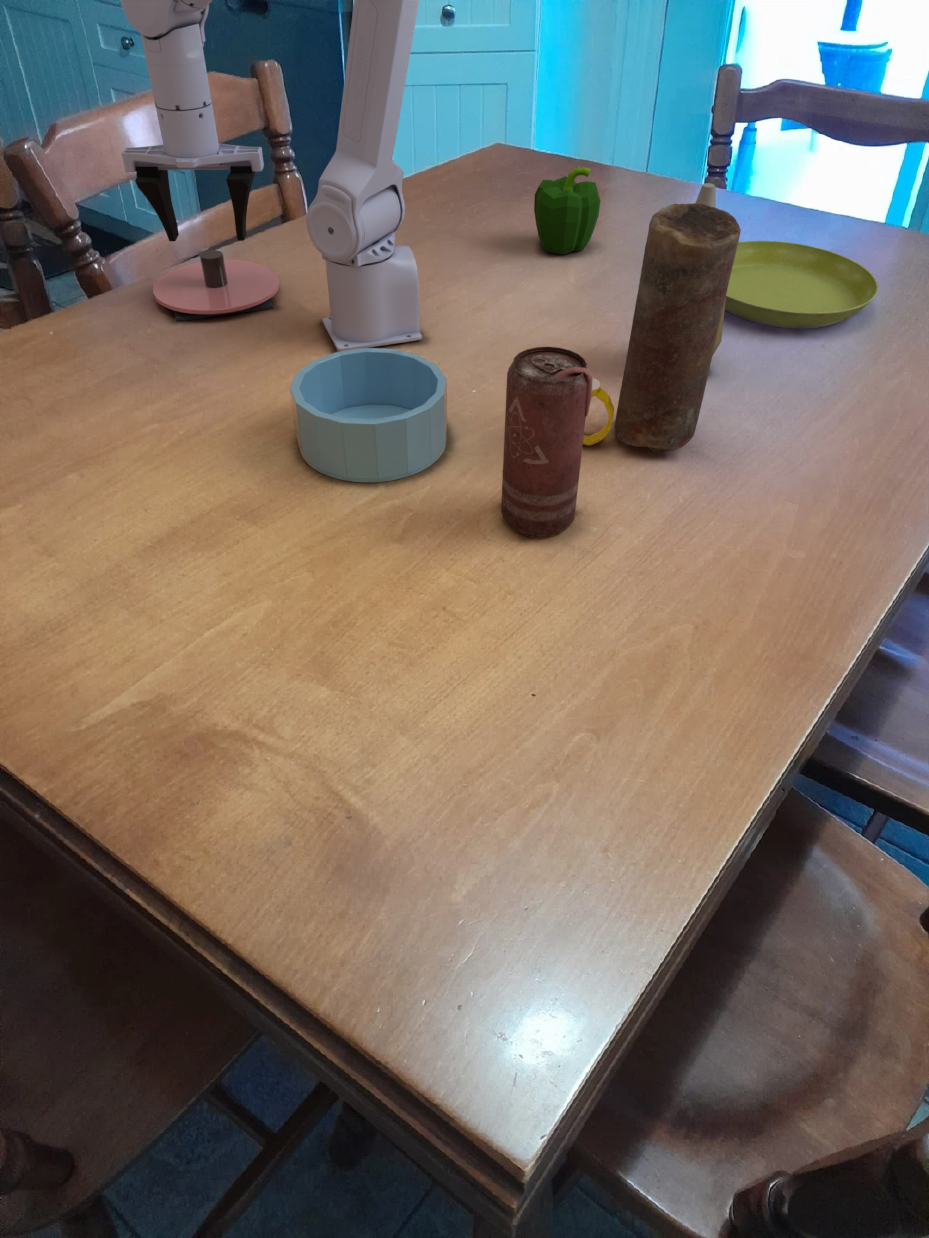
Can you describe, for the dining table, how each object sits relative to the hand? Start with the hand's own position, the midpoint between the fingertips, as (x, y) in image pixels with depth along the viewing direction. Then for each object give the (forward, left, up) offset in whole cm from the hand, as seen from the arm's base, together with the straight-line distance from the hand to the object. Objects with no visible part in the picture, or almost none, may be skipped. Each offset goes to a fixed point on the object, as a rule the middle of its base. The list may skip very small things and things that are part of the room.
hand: (208, 238), depth 102 cm
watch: (-27, +43, -7) cm, 51 cm away
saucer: (-63, +22, -7) cm, 67 cm away
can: (-19, +53, -7) cm, 57 cm away
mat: (0, 0, -7) cm, 7 cm away
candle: (-34, +45, -7) cm, 57 cm away
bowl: (-9, +37, -7) cm, 39 cm away
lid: (0, 0, -6) cm, 6 cm away
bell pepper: (-45, -1, -7) cm, 46 cm away
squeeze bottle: (-43, +33, -7) cm, 55 cm away
